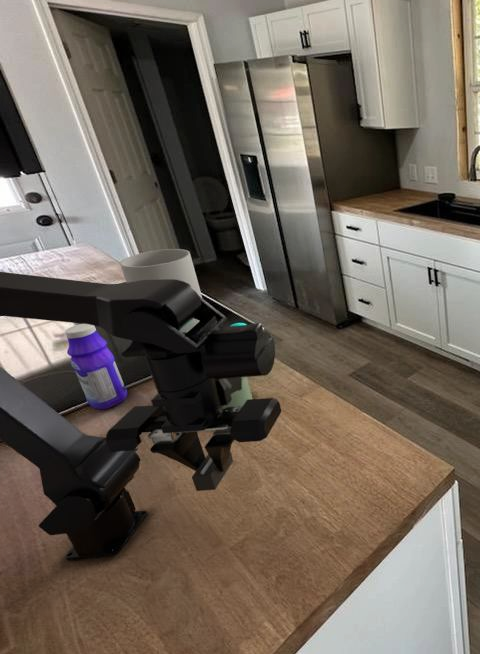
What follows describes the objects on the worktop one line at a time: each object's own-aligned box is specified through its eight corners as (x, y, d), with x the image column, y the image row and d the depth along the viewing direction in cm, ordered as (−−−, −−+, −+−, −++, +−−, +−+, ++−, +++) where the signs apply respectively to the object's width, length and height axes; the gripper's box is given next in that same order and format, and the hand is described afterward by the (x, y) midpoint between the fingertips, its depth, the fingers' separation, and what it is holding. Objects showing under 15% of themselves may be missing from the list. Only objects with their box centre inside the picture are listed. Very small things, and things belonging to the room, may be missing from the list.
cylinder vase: (213, 355, 102) (187, 261, 93) (148, 370, 96) (113, 270, 87) (215, 333, 112) (191, 246, 103) (156, 345, 105) (126, 253, 96)
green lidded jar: (241, 418, 82) (232, 385, 79) (194, 421, 81) (183, 388, 78) (260, 390, 90) (253, 359, 87) (217, 393, 89) (208, 362, 86)
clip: (215, 489, 56) (210, 473, 55) (196, 491, 56) (190, 474, 55) (233, 460, 61) (228, 445, 60) (215, 462, 61) (211, 446, 60)
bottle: (83, 403, 85) (51, 329, 78) (118, 388, 90) (90, 317, 83) (99, 415, 82) (67, 339, 75) (134, 398, 86) (107, 326, 80)
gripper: (285, 341, 61) (302, 424, 67) (147, 347, 59) (177, 433, 64) (251, 388, 51) (275, 482, 57) (82, 398, 48) (124, 495, 54)
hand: (214, 469), depth 58 cm, fingers closed on clip, 2 cm apart
